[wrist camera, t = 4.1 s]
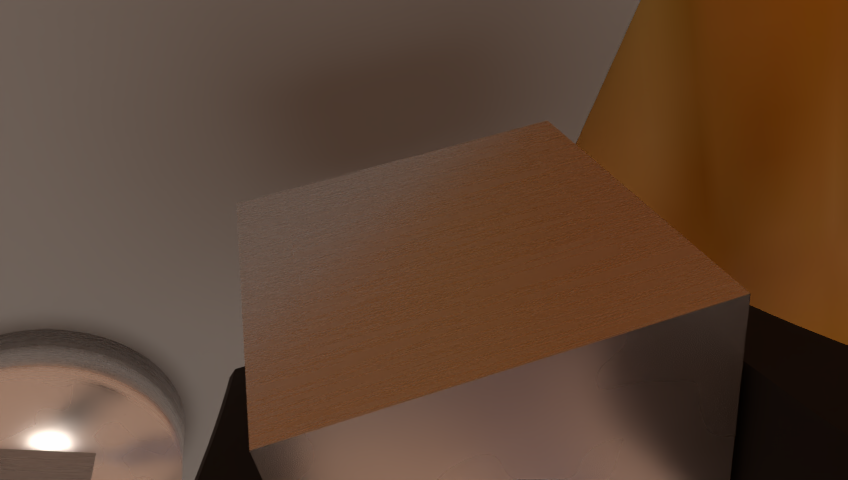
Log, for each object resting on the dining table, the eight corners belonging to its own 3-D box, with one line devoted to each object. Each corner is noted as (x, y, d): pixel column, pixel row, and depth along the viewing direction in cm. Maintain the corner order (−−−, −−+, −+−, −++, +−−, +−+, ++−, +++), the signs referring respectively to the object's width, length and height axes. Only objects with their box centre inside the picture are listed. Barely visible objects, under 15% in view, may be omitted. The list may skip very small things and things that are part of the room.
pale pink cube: (547, 120, 11) (751, 293, 7) (565, 354, 14) (718, 582, 9) (236, 203, 10) (249, 451, 6) (318, 431, 13) (365, 713, 9)
